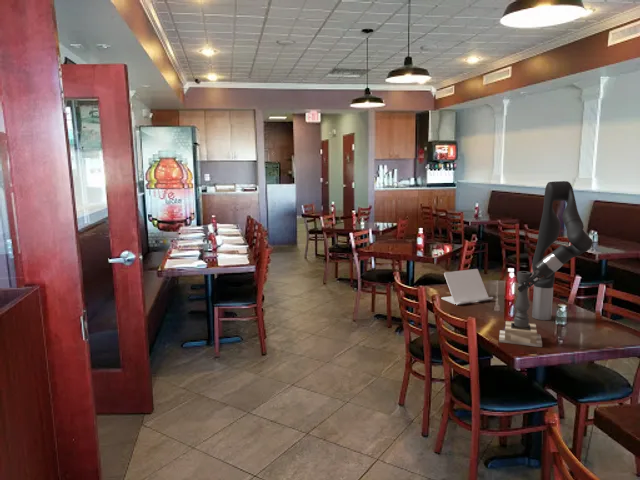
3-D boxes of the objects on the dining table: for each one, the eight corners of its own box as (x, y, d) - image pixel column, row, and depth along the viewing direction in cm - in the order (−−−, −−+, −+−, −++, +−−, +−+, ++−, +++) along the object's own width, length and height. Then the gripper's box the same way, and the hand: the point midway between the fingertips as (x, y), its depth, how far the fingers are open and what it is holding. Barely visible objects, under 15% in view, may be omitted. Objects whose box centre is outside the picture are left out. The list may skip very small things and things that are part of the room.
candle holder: (524, 322, 224) (527, 270, 220) (531, 327, 218) (534, 273, 214) (511, 323, 224) (514, 271, 220) (517, 327, 218) (520, 274, 214)
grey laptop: (440, 298, 291) (441, 271, 288) (473, 294, 300) (474, 267, 297) (459, 306, 274) (461, 278, 271) (494, 301, 284) (495, 273, 281)
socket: (499, 332, 232) (500, 320, 231) (540, 337, 225) (541, 324, 224) (498, 342, 219) (499, 329, 218) (542, 347, 213) (542, 333, 212)
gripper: (542, 256, 220) (512, 279, 226) (543, 261, 207) (512, 286, 213) (554, 268, 219) (524, 291, 225) (556, 274, 206) (525, 299, 212)
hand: (518, 288), depth 219 cm, fingers closed on candle holder, 5 cm apart
